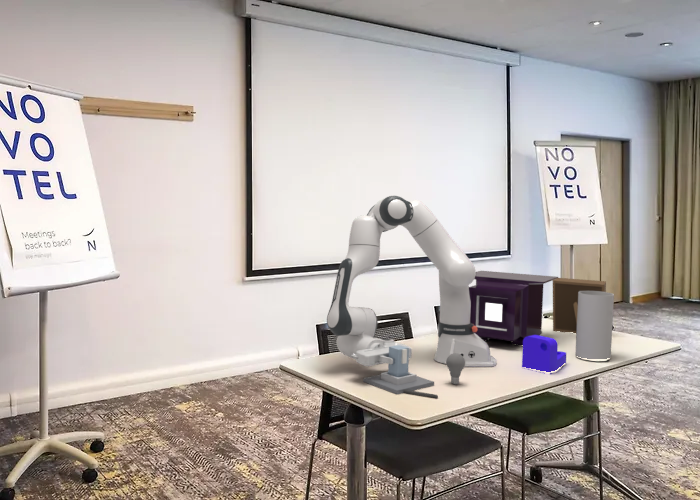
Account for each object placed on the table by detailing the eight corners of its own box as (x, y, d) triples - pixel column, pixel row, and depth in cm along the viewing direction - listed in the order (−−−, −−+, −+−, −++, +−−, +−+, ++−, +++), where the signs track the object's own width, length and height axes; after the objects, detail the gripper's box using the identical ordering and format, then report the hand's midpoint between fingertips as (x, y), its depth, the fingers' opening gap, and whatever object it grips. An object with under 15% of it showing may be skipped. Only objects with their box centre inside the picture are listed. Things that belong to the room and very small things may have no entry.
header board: (399, 373, 209) (400, 364, 209) (434, 385, 197) (434, 375, 197) (363, 381, 200) (363, 372, 199) (397, 394, 187) (397, 384, 187)
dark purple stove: (479, 328, 288) (481, 270, 286) (555, 338, 269) (558, 276, 267) (449, 342, 258) (451, 277, 256) (532, 354, 240) (535, 285, 238)
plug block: (398, 372, 201) (399, 345, 200) (409, 376, 197) (410, 348, 196) (388, 374, 198) (388, 346, 198) (399, 378, 194) (400, 350, 194)
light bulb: (443, 381, 202) (444, 351, 201) (461, 381, 202) (462, 350, 202) (448, 386, 196) (449, 355, 195) (466, 386, 196) (467, 355, 196)
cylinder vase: (617, 360, 233) (621, 294, 231) (596, 364, 227) (599, 296, 225) (589, 352, 244) (592, 290, 242) (568, 356, 238) (571, 292, 236)
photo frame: (555, 329, 289) (557, 276, 287) (605, 335, 278) (607, 280, 276) (547, 335, 276) (550, 279, 274) (599, 341, 265) (602, 283, 263)
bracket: (549, 374, 212) (550, 341, 211) (521, 368, 220) (523, 335, 219) (576, 366, 224) (578, 334, 223) (550, 360, 232) (551, 329, 231)
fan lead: (402, 393, 189) (402, 389, 188) (404, 392, 189) (404, 388, 189) (437, 398, 184) (437, 395, 184) (438, 397, 185) (438, 394, 184)
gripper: (348, 345, 201) (375, 354, 190) (394, 338, 214) (423, 346, 203) (347, 364, 202) (375, 375, 191) (394, 356, 214) (422, 365, 203)
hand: (400, 360), depth 197 cm, fingers closed on plug block, 4 cm apart
